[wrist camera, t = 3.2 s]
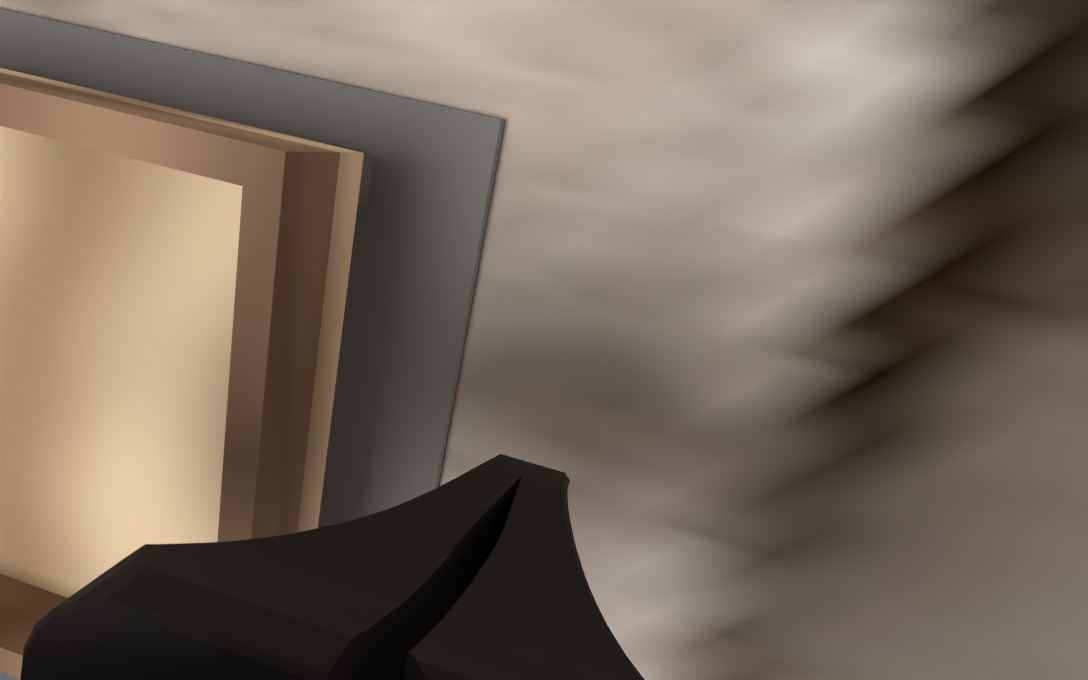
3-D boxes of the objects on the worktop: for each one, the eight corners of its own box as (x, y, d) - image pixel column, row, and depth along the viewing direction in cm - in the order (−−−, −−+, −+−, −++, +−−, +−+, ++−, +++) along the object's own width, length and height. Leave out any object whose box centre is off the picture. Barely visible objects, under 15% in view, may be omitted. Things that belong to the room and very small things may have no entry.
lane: (504, 119, 13) (499, 118, 13) (410, 637, 17) (404, 647, 17) (-344, -67, 16) (-368, -73, 16) (-262, 409, 20) (-280, 413, 20)
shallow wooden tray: (418, 153, 13) (285, 151, 9) (353, 599, 17) (231, 759, 12) (-40, 47, 15) (-347, 0, 10) (-17, 476, 18) (-245, 578, 14)
